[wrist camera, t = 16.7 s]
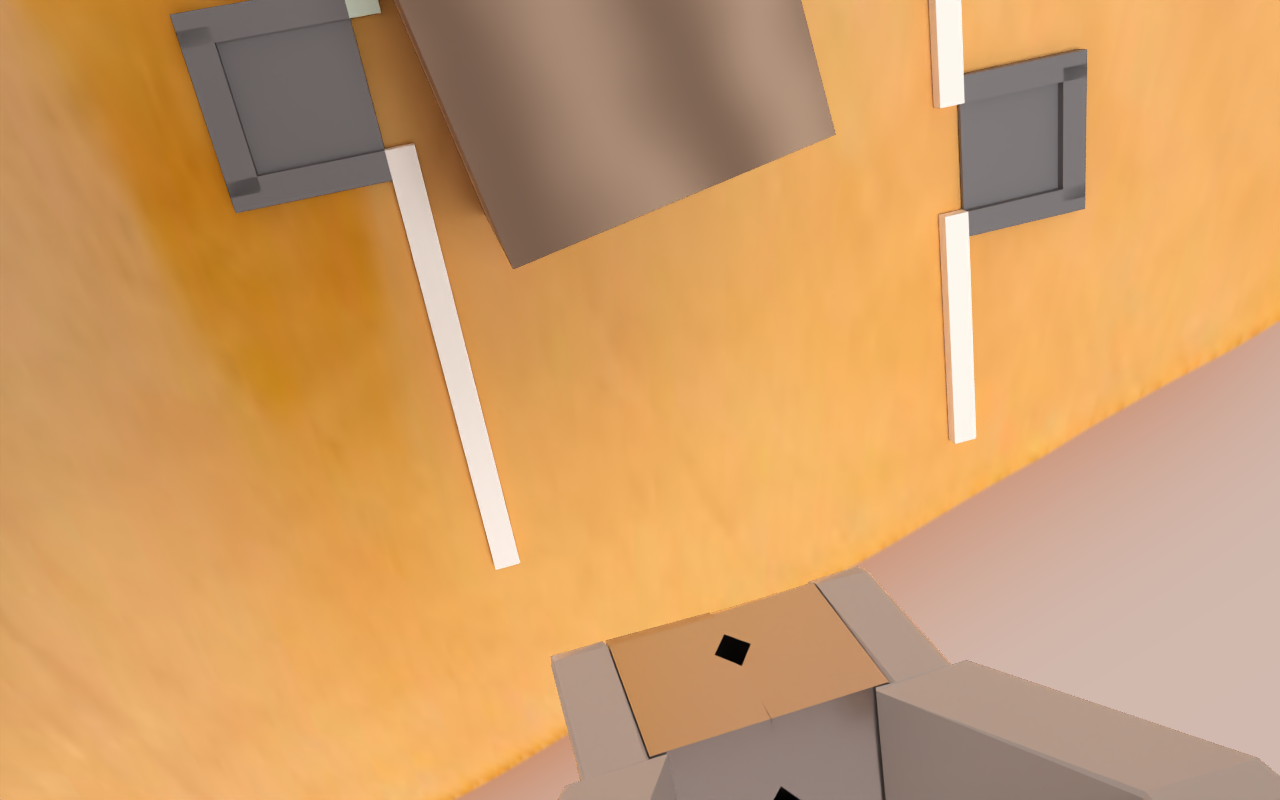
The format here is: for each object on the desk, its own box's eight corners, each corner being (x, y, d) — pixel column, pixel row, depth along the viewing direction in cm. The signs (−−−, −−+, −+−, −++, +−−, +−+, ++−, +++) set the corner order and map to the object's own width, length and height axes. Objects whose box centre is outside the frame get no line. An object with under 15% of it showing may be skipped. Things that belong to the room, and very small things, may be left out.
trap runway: (366, 598, 47) (365, 647, 43) (112, -169, 34) (80, -191, 31) (1075, 405, 53) (1126, 433, 49) (1082, -312, 40) (1151, -344, 37)
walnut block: (484, 214, 42) (513, 269, 33) (357, -82, 37) (350, -113, 28) (740, 108, 43) (835, 134, 34) (650, -194, 38) (733, -258, 29)
